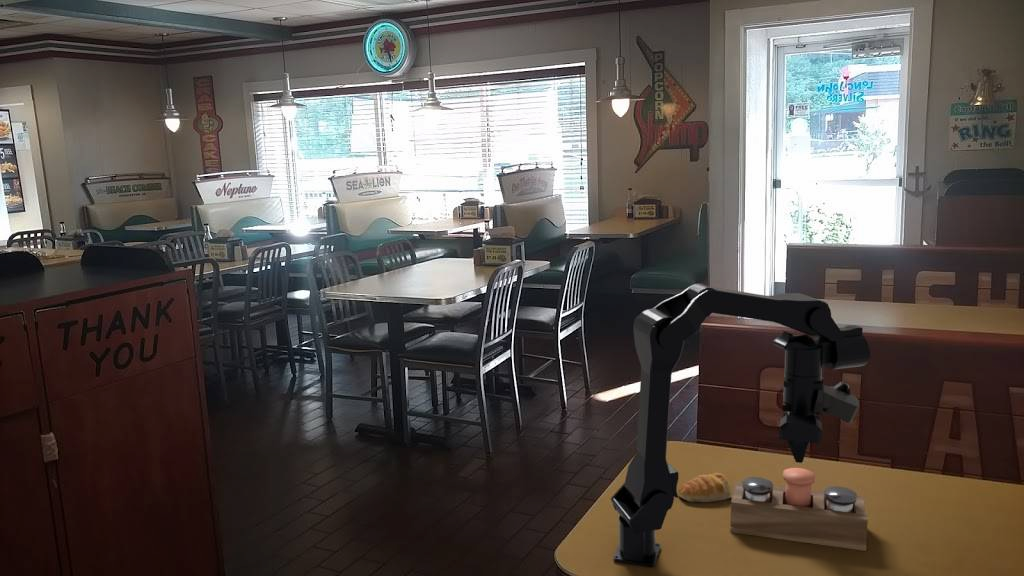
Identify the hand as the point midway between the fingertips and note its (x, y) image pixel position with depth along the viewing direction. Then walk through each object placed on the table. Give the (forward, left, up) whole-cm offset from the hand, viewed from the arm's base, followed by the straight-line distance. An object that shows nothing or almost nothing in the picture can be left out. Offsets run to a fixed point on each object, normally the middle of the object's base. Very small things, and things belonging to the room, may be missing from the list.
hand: (799, 461), depth 132 cm
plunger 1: (0, +6, -11) cm, 12 cm away
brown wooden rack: (0, 0, -12) cm, 12 cm away
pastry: (+8, +16, -12) cm, 22 cm away
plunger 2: (0, -7, -11) cm, 12 cm away
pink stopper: (0, 0, -8) cm, 8 cm away
